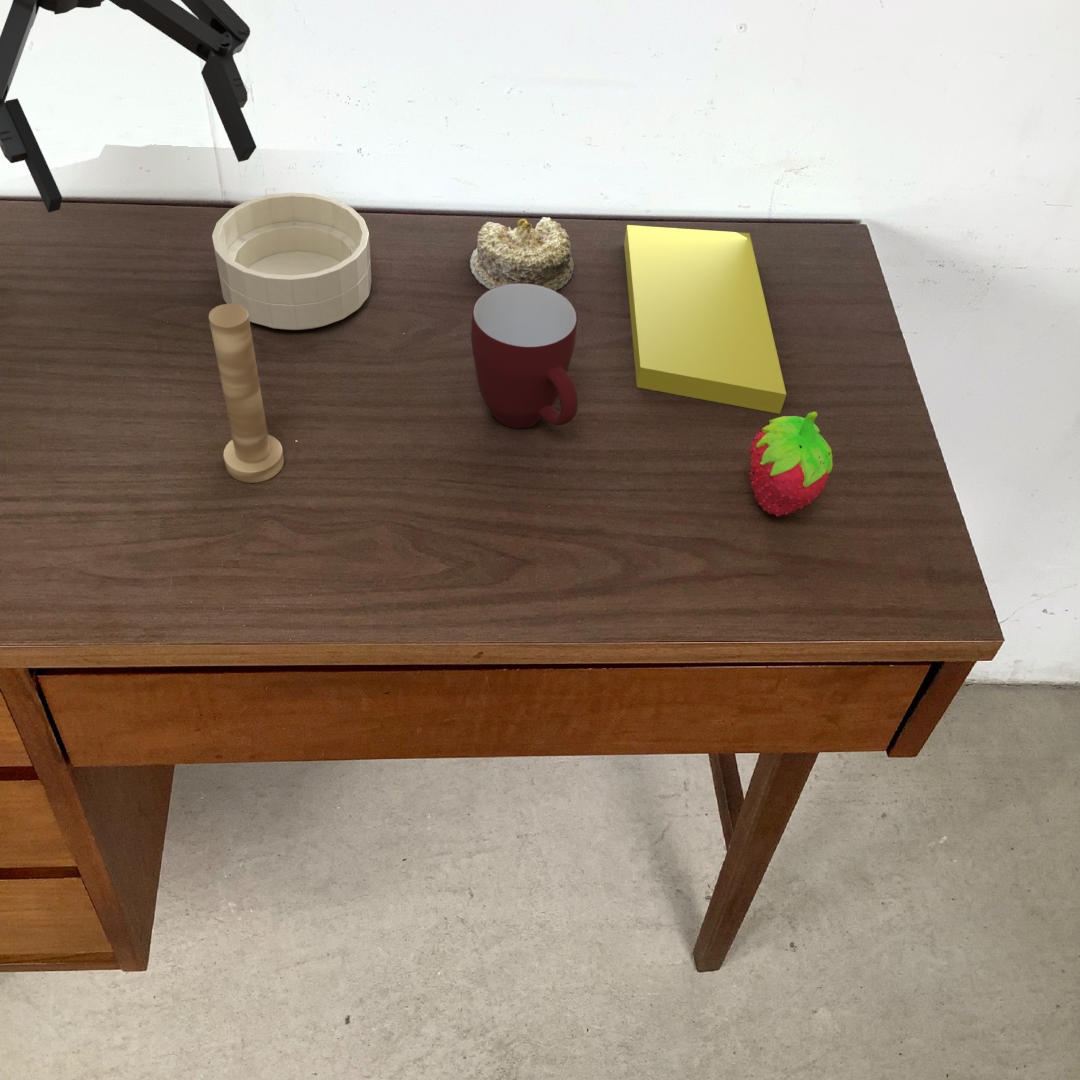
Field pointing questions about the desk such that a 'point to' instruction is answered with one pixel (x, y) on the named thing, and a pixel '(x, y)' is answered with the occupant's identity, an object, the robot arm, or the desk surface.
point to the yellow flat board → (701, 317)
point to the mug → (525, 353)
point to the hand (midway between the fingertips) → (155, 179)
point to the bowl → (293, 260)
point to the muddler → (243, 398)
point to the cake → (523, 255)
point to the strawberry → (789, 464)
